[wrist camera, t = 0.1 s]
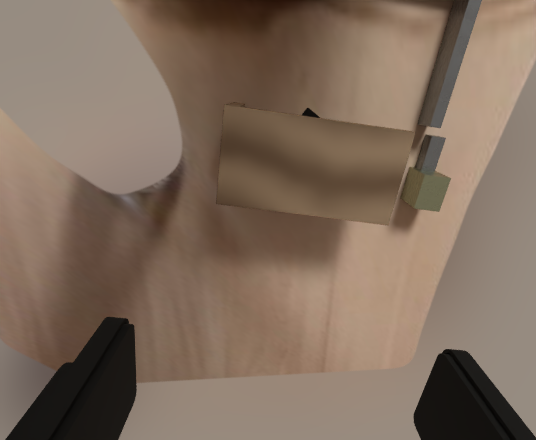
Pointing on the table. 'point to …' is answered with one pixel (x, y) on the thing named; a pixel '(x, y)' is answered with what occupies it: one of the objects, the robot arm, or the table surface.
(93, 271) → the table surface
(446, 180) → the pale green block
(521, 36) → the table surface
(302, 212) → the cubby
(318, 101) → the table surface
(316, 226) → the table surface
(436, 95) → the grey angular bent frame
